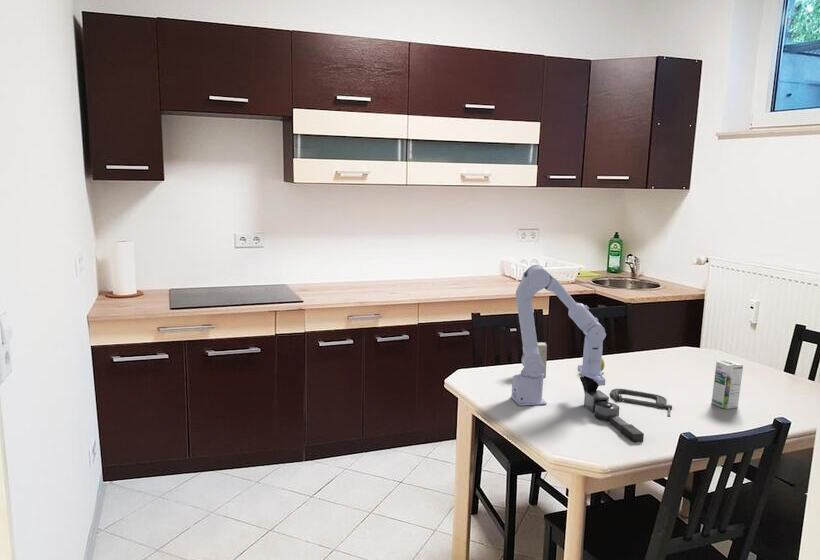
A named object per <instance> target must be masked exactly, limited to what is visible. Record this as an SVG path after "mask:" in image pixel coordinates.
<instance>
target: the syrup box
mask: <svg viewBox="0 0 820 560" xmlns="http://www.w3.org/2000/svg"><path fill="white" fill-rule="evenodd" d="M743 370H744V364H740V363H737V362H734V361H732V360H727V359H722V360H717V361H716V363H715V370H714V380H713V387H712V396H711V401H710V402H711V404H712V405H715V406H718V407H719V408H722V409H724V410H729V409H734V408H738V407H739V401H740V394H741V393H740V392H741V385H742V384H741V383H742V379H743V378H742V377H743Z"/></svg>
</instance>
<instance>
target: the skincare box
mask: <svg viewBox="0 0 820 560" xmlns="http://www.w3.org/2000/svg"><path fill="white" fill-rule="evenodd" d="M537 344H538V349H539V353H540V358H541V360H542V362H543V363H544V366H545V370H544V372H543V374H544V375H543V378H546V377H547V353H548V352H547V351H548V349H547V348H548V345H547V342H542V341H541V342H538V341H537Z"/></svg>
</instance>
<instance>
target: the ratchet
mask: <svg viewBox="0 0 820 560" xmlns="http://www.w3.org/2000/svg"><path fill="white" fill-rule="evenodd" d="M593 414H594V416H593V417H594V418H595V419H597V420H598V421H601V422H607V423H609V424H610V425H611V426H612V427H614V428H615V429H616V430H617V431H619V432H620V434H622V435H623V436H624V437H626V439H628V440H629V441H631V442H632V443H640V442H644V438H645V437H644V435H645V433H644V432H642V431H641V430H640V429H639V428H637V427H636V426H634V425H633V424H630V423H627V421H625V420H624V419H622V418H621V417H620V406H619V405H618V404H616V403H613V402H605V401H604V400H596V404H595V413H593Z"/></svg>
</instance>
